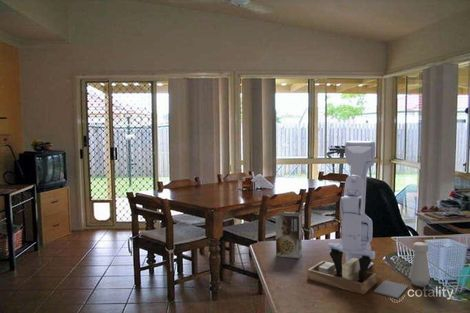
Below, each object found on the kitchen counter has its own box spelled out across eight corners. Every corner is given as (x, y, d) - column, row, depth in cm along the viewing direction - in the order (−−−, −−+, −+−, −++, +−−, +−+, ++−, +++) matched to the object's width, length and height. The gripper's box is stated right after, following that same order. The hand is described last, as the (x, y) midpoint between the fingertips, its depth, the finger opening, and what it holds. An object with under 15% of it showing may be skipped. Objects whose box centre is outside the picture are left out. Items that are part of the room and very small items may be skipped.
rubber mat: (384, 281, 124) (385, 280, 124) (408, 287, 120) (408, 285, 120) (373, 292, 116) (373, 290, 116) (397, 298, 112) (397, 297, 112)
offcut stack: (327, 272, 133) (327, 260, 132) (337, 274, 130) (337, 263, 130) (317, 279, 127) (317, 267, 127) (327, 281, 125) (328, 269, 124)
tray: (322, 268, 135) (322, 260, 135) (376, 282, 123) (376, 273, 123) (307, 278, 127) (307, 269, 126) (363, 294, 115) (363, 284, 115)
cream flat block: (352, 278, 127) (352, 257, 126) (358, 280, 125) (358, 258, 125) (341, 286, 121) (342, 264, 120) (348, 288, 119) (348, 266, 119)
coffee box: (302, 253, 151) (302, 212, 150) (299, 258, 145) (299, 216, 144) (278, 250, 154) (278, 210, 152) (275, 256, 148) (275, 214, 146)
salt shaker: (420, 289, 118) (422, 247, 117) (404, 282, 123) (406, 242, 122) (433, 285, 121) (435, 244, 119) (418, 278, 126) (419, 239, 124)
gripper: (323, 232, 123) (323, 274, 124) (369, 241, 114) (368, 286, 115) (333, 227, 128) (333, 267, 130) (378, 235, 119) (377, 278, 121)
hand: (350, 276), depth 123 cm, fingers open, 7 cm apart
